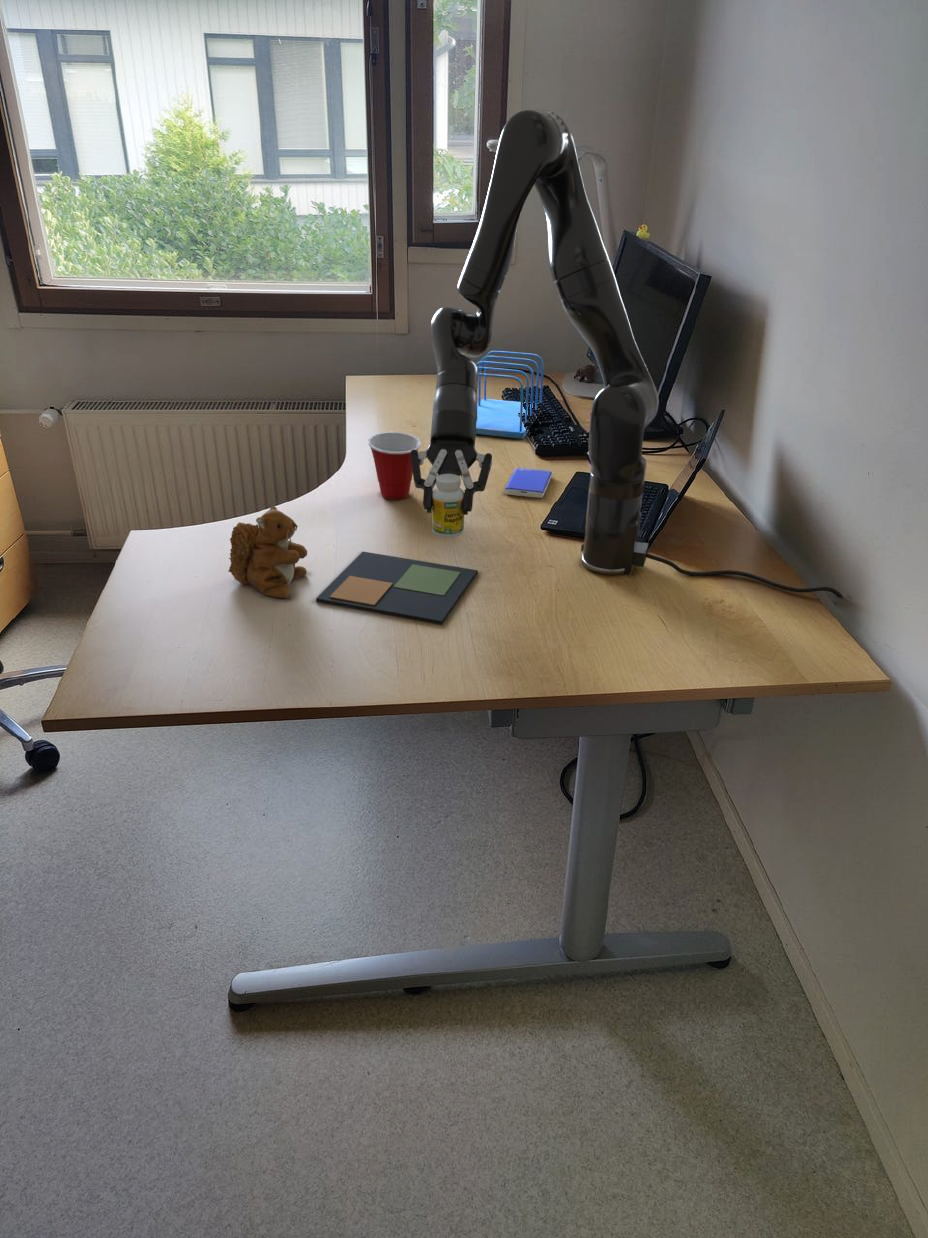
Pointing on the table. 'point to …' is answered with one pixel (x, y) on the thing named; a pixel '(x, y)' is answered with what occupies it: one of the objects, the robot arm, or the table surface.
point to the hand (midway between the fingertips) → (447, 511)
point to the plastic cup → (393, 462)
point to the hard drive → (528, 482)
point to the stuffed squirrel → (267, 554)
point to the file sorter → (504, 414)
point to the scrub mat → (399, 587)
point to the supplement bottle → (448, 506)
